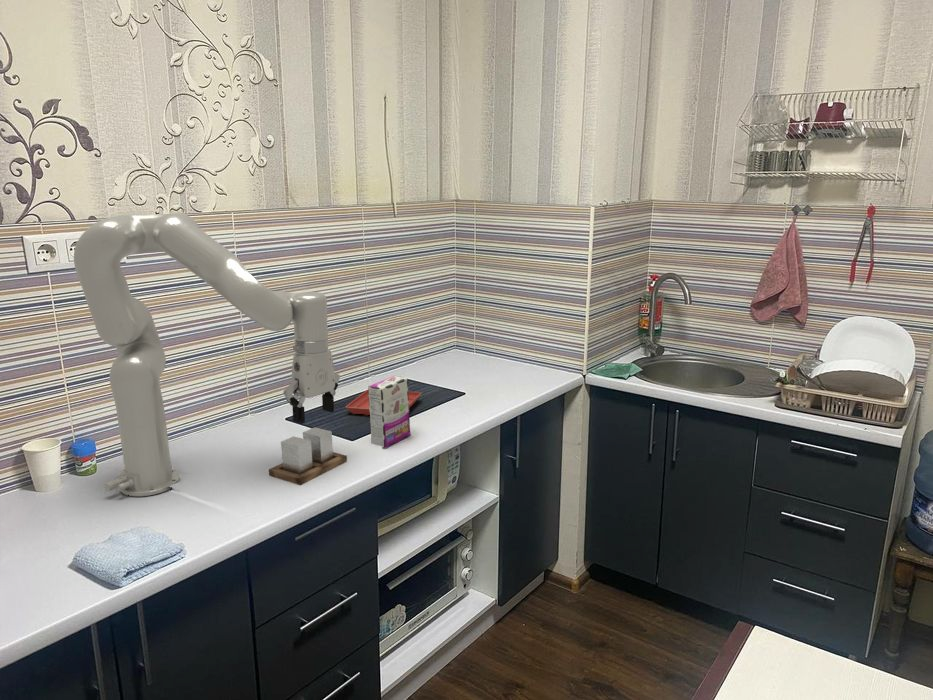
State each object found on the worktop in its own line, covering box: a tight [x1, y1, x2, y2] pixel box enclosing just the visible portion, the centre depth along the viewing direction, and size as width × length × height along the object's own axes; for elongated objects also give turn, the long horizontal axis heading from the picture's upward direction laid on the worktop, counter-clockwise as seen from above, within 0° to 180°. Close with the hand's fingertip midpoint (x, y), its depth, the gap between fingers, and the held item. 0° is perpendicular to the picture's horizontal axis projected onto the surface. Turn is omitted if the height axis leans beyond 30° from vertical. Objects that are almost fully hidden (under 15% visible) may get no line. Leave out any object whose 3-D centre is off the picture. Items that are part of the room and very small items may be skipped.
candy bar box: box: [367, 375, 411, 449], centre depth 180 cm, size 11×5×16 cm, turn 148°
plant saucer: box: [345, 389, 422, 416], centre depth 207 cm, size 18×18×3 cm
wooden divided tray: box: [268, 451, 348, 486], centre depth 162 cm, size 16×10×2 cm, turn 148°
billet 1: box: [280, 436, 313, 475], centre depth 158 cm, size 4×6×8 cm
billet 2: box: [302, 426, 334, 464], centre depth 164 cm, size 4×6×8 cm
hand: (314, 416), depth 162 cm, fingers open, 9 cm apart
